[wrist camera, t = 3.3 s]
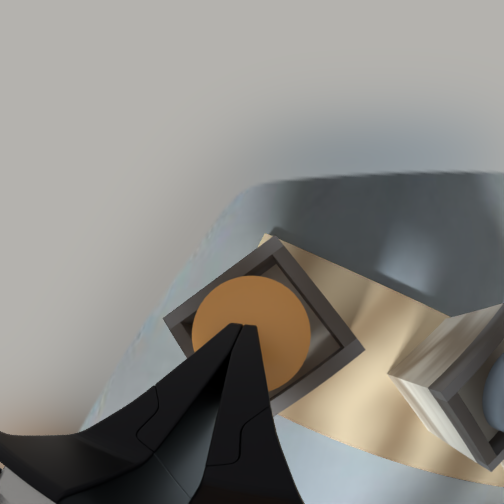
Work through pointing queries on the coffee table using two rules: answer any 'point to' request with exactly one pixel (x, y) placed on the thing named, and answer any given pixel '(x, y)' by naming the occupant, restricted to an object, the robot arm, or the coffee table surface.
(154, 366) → the coffee table surface
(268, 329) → the orange button
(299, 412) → the button board
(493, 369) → the slate button
